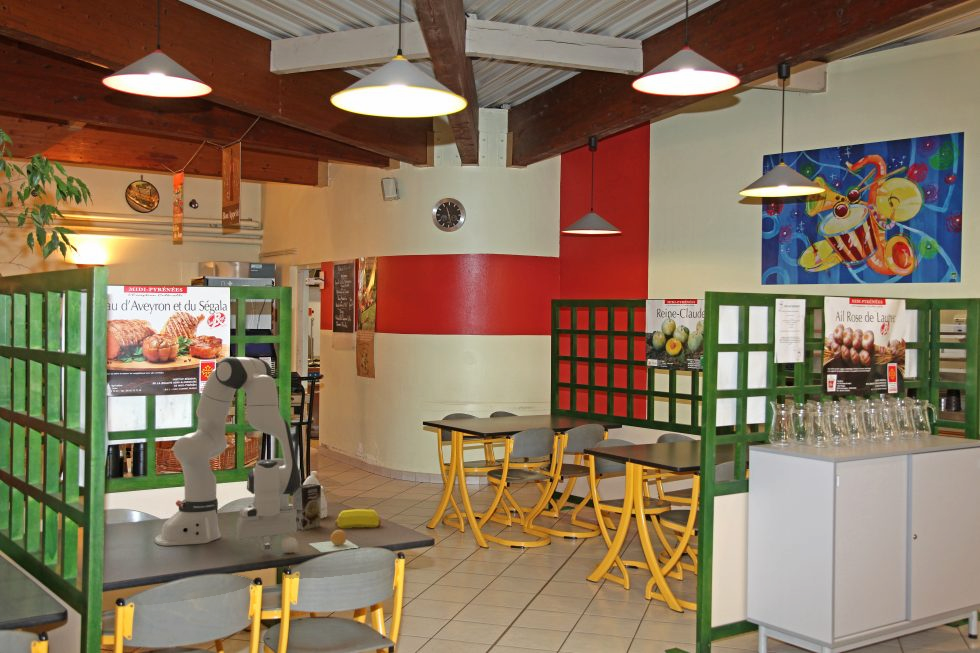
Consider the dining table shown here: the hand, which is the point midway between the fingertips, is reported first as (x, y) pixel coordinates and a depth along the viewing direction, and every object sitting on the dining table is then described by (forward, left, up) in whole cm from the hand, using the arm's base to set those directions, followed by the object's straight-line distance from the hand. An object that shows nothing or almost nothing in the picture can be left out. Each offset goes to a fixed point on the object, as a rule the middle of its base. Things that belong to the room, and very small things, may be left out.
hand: (266, 549), depth 305 cm
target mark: (+24, 0, -2) cm, 24 cm away
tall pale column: (+24, +71, -2) cm, 75 cm away
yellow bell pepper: (+43, +26, -2) cm, 50 cm away
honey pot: (+33, +53, -2) cm, 62 cm away
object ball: (+26, 0, +1) cm, 26 cm away
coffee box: (+25, +34, -2) cm, 42 cm away
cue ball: (+7, -2, +1) cm, 8 cm away
